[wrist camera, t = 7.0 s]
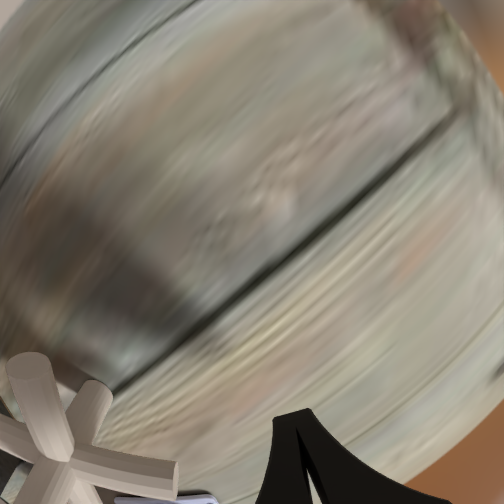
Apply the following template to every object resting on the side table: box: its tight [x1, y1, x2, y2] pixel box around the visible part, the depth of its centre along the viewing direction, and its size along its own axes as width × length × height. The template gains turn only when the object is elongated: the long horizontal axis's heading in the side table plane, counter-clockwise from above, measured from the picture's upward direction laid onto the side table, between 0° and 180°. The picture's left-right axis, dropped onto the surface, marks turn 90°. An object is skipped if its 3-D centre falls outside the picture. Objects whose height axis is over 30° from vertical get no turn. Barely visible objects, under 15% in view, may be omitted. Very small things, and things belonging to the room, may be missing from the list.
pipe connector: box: [0, 352, 179, 504], centre depth 9 cm, size 10×10×10 cm
